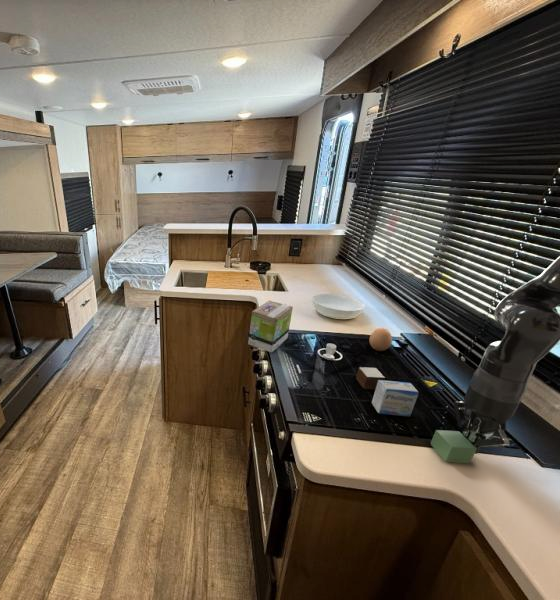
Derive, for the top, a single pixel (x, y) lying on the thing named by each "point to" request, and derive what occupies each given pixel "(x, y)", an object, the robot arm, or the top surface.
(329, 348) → the white ring with knob
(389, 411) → the medicine box
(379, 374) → the walnut block
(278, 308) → the tea box
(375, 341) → the egg
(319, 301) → the serving bowl
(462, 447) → the sage block
